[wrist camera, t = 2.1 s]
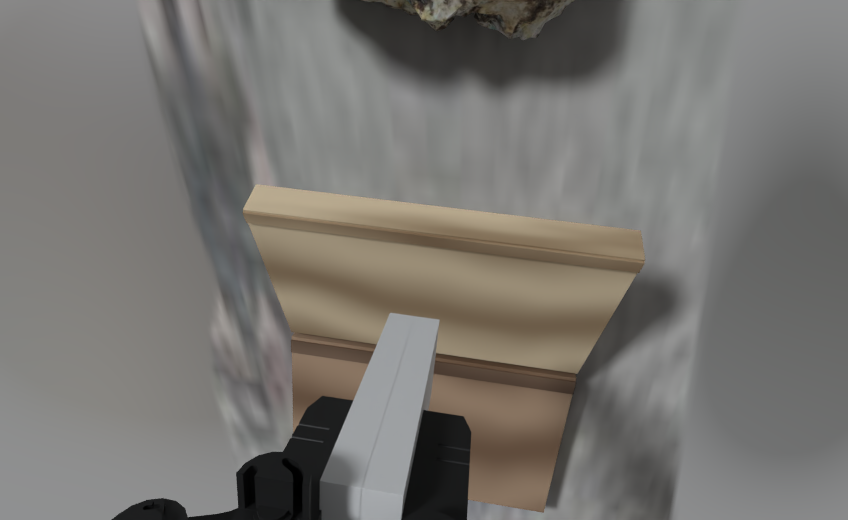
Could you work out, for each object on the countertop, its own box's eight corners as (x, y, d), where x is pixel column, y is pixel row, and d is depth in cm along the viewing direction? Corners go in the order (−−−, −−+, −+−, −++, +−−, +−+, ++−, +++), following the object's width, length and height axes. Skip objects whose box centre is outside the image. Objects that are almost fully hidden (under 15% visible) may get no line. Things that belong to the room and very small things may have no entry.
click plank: (256, 184, 21) (241, 211, 20) (640, 230, 20) (645, 262, 19) (299, 309, 29) (291, 333, 28) (576, 349, 28) (577, 375, 27)
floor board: (301, 322, 30) (291, 337, 28) (572, 362, 28) (576, 379, 27) (302, 452, 33) (293, 471, 32) (541, 491, 32) (543, 514, 30)
